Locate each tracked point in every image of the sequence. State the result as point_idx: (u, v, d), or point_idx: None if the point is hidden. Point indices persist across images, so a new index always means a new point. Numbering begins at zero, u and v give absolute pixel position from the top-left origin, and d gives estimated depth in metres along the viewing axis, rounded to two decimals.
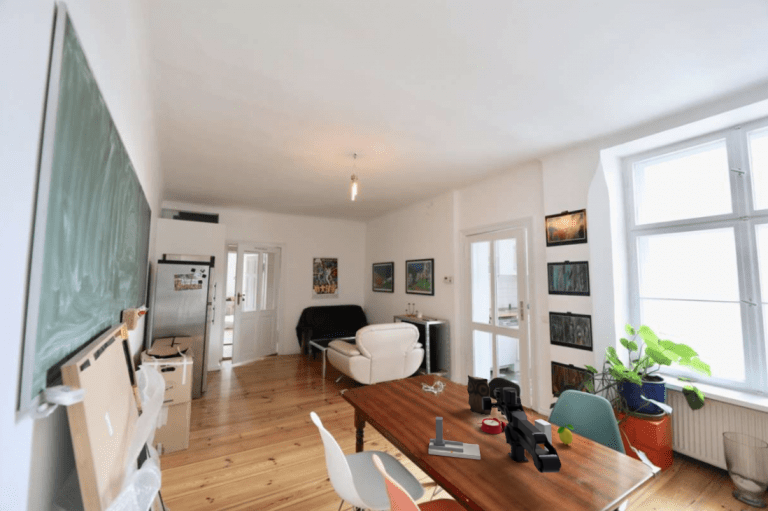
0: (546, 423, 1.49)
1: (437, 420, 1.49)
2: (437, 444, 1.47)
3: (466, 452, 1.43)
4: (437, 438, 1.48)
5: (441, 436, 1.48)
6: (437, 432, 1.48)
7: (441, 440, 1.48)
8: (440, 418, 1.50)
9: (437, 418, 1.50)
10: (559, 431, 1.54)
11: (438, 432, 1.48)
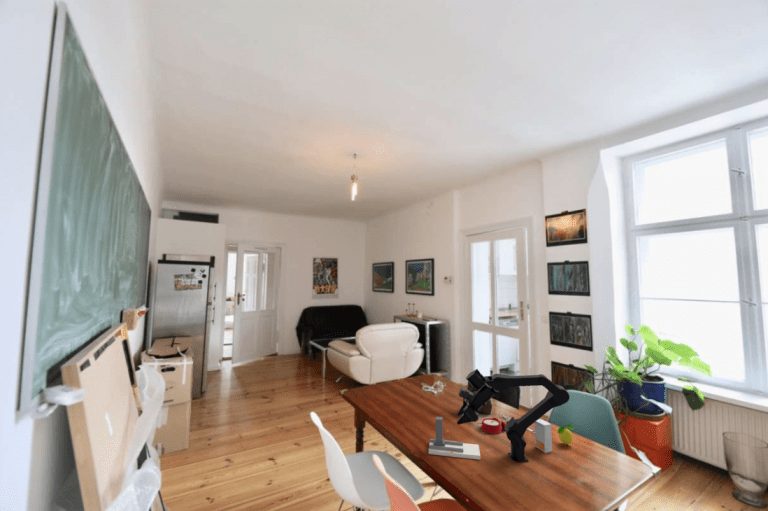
0: (546, 423, 1.49)
1: (437, 420, 1.49)
2: (437, 444, 1.47)
3: (466, 452, 1.43)
4: (437, 438, 1.48)
5: (441, 436, 1.48)
6: (437, 432, 1.48)
7: (441, 440, 1.48)
8: (440, 418, 1.50)
9: (437, 418, 1.50)
10: (559, 431, 1.54)
11: (438, 432, 1.48)
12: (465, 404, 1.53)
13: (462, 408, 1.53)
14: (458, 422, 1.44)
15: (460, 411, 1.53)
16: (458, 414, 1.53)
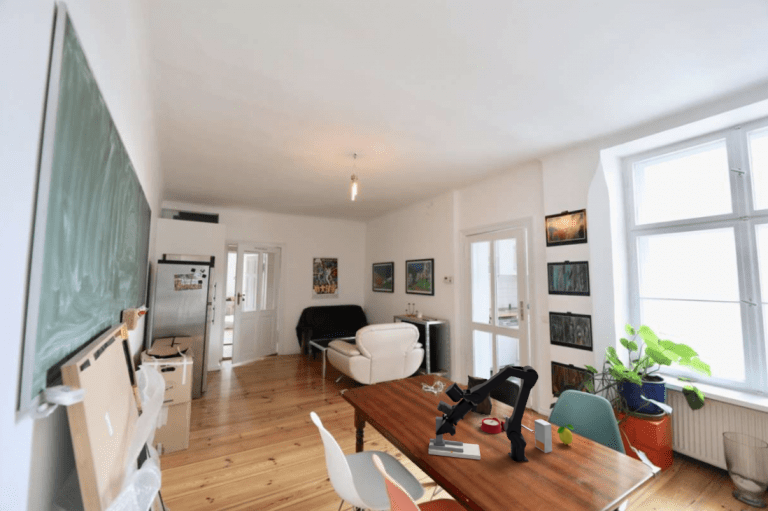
0: (546, 423, 1.49)
1: (437, 420, 1.49)
2: (437, 444, 1.47)
3: (466, 452, 1.43)
4: (437, 438, 1.48)
5: (441, 436, 1.48)
6: None
7: (441, 440, 1.48)
8: (440, 418, 1.50)
9: (437, 418, 1.50)
10: (559, 431, 1.54)
11: None
12: (444, 420, 1.52)
13: None
14: (437, 433, 1.48)
15: None
16: None
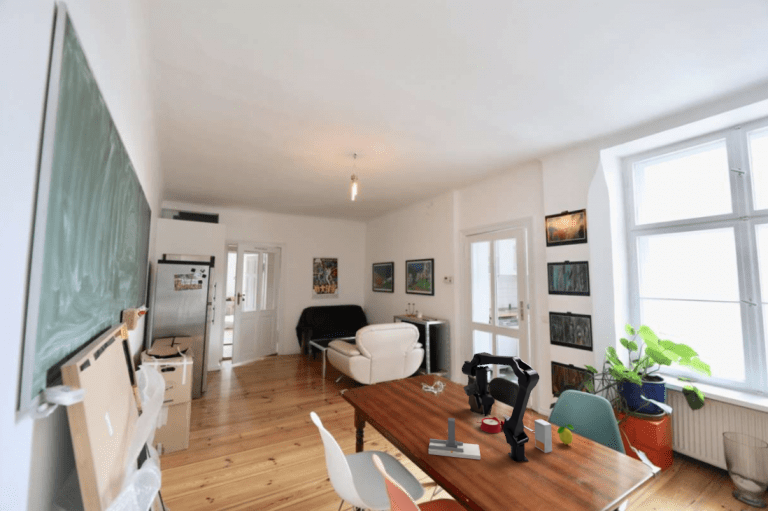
0: (546, 423, 1.49)
1: (449, 421, 1.48)
2: (449, 445, 1.46)
3: (466, 452, 1.43)
4: (449, 439, 1.47)
5: (453, 437, 1.47)
6: (449, 433, 1.47)
7: (453, 441, 1.47)
8: (452, 419, 1.49)
9: (449, 419, 1.49)
10: (559, 431, 1.54)
11: (451, 433, 1.47)
12: (476, 395, 1.64)
13: (477, 400, 1.64)
14: (485, 414, 1.54)
15: (478, 403, 1.63)
16: (479, 407, 1.63)
